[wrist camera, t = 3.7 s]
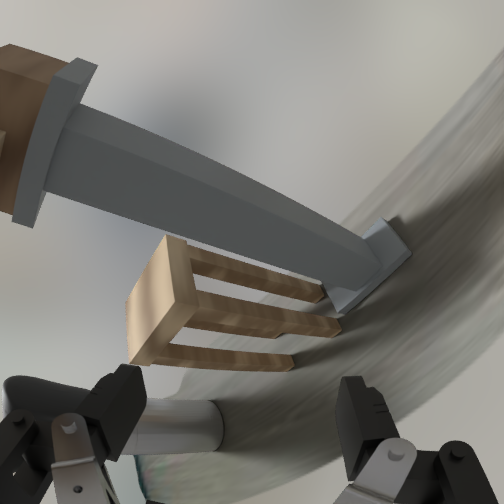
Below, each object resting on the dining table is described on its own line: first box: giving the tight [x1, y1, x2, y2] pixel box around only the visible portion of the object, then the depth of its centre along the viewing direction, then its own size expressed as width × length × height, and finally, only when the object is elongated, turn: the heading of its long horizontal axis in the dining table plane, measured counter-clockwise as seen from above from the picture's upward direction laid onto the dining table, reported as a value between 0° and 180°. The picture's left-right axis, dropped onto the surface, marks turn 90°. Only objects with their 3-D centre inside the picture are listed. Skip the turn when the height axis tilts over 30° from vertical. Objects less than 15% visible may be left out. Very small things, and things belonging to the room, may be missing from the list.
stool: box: [126, 234, 342, 372], centre depth 31 cm, size 10×7×20 cm
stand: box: [12, 58, 412, 314], centre depth 23 cm, size 10×5×32 cm, turn 118°
